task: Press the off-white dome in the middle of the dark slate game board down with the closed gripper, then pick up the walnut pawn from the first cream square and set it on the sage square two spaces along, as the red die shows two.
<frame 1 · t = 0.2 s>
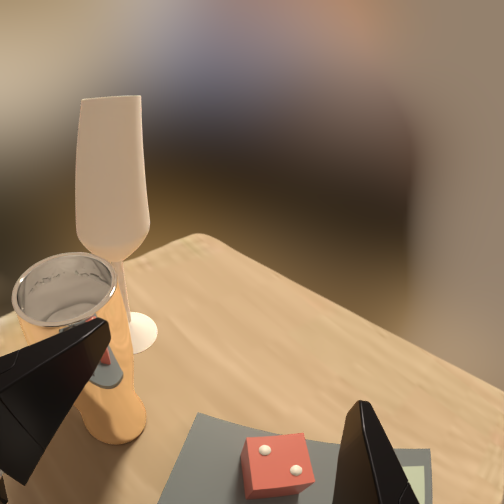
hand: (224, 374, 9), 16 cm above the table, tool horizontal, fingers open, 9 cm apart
champagne flute: (128, 333, 30), on the table
red die: (269, 475, 17), resting on game board
beer glass: (114, 416, 21), on the table
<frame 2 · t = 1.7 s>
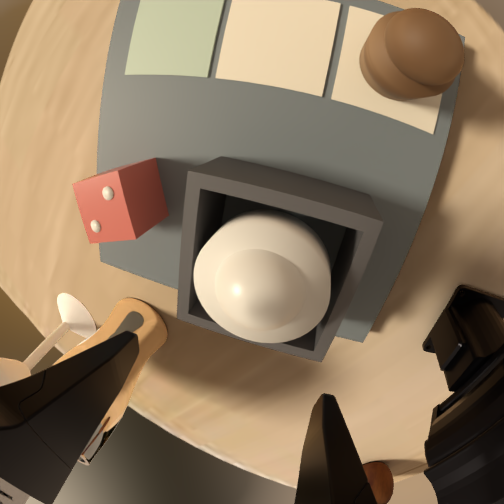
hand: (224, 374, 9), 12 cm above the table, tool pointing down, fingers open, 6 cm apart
game board: (251, 148, 17), on the table
champagne flute: (76, 315, 30), on the table
walnut pawn: (395, 66, 12), point 2 cm above the table, touching game board
red die: (138, 191, 19), resting on game board
wooden figurine: (371, 464, 32), on the table
dome button: (261, 284, 14), point 6 cm above the table, slide at 0.0 cm
beer glass: (142, 321, 27), on the table
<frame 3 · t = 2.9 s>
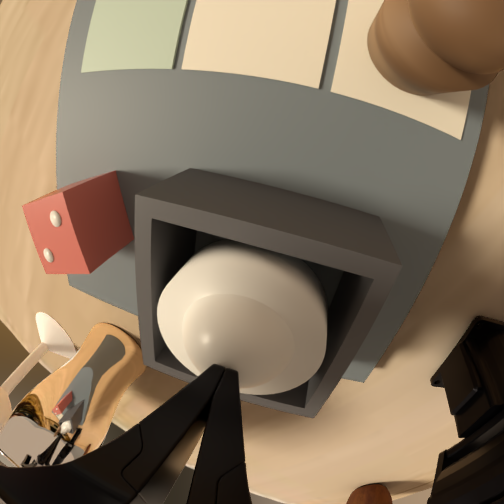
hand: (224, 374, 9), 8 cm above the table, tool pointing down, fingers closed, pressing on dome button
game board: (230, 156, 14), on the table
champagne flute: (55, 335, 27), on the table
walnut pawn: (413, 50, 8), point 2 cm above the table, touching game board
red die: (99, 210, 15), resting on game board
wooden figurine: (369, 486, 28), on the table
dome button: (240, 331, 11), point 6 cm above the table, slide at 0.6 cm, touching gripper
beer glass: (120, 347, 24), on the table
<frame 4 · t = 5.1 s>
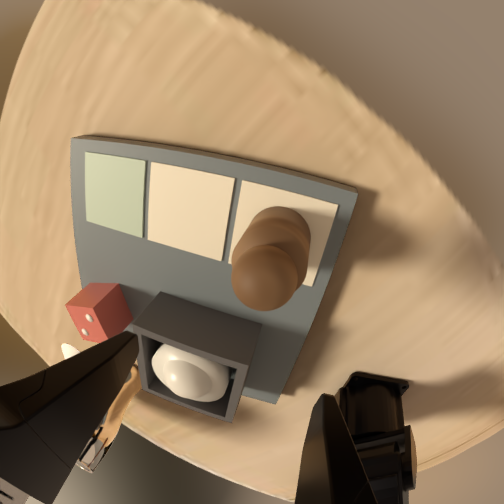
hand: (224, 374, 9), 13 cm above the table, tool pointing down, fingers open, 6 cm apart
game board: (182, 281, 24), on the table
walnut pawn: (279, 236, 19), point 2 cm above the table, touching game board
red die: (111, 300, 26), resting on game board
dome button: (190, 372, 22), point 5 cm above the table, slide at 1.4 cm
beer glass: (126, 370, 34), on the table
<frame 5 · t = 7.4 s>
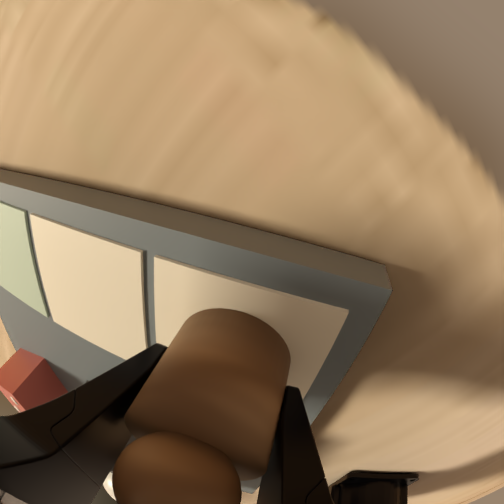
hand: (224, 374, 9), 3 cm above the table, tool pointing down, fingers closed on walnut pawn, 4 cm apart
game board: (115, 367, 15), on the table
walnut pawn: (232, 354, 10), point 2 cm above the table, touching game board, gripper
red die: (44, 371, 17), resting on game board
dome button: (134, 479, 13), point 5 cm above the table, slide at 1.4 cm
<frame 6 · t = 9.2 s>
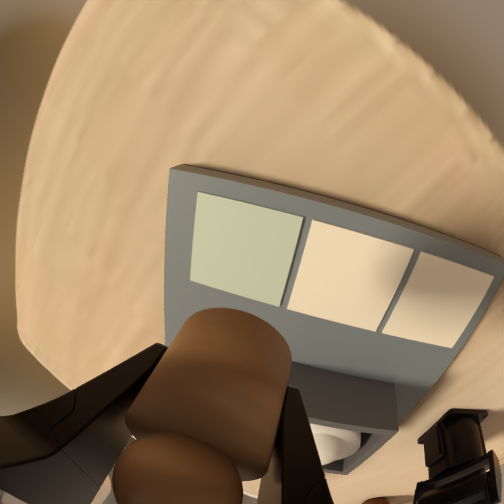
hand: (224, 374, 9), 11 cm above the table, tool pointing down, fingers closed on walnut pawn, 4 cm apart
game board: (309, 345, 21), on the table
walnut pawn: (233, 354, 10), point 10 cm above the table, touching gripper
wooden figurine: (374, 499, 34), on the table
dome button: (319, 439, 19), point 5 cm above the table, slide at 1.4 cm
when the fingers open (4 cm above the table, at t = 11.3 s): walnut pawn drops 1 cm, resting on game board.
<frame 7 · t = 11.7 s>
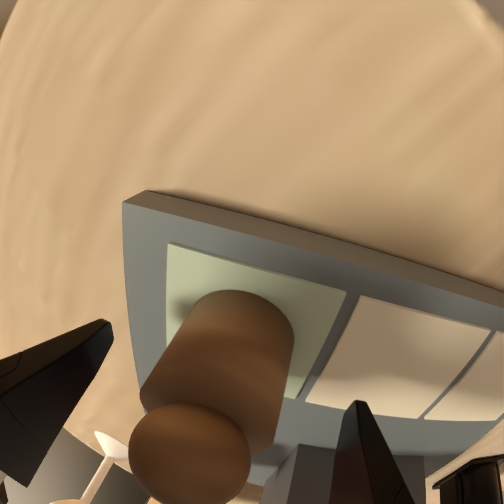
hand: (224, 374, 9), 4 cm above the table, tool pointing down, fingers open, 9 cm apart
game board: (327, 422, 15), on the table
champagne flute: (117, 445, 28), on the table
walnut pawn: (240, 334, 11), point 2 cm above the table, touching game board
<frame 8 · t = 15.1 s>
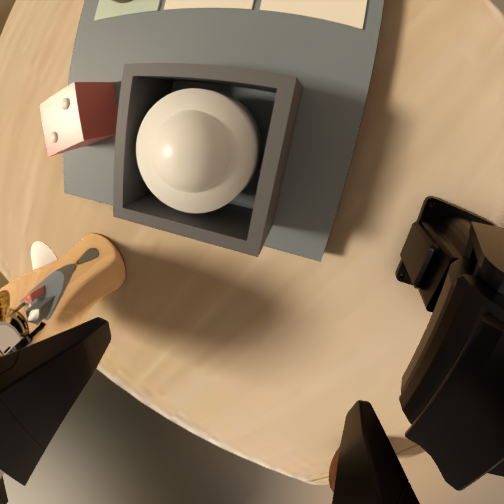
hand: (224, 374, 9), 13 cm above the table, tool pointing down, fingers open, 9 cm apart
game board: (196, 65, 16), on the table
champagne flute: (47, 265, 29), on the table
red die: (97, 115, 18), resting on game board
dome button: (194, 150, 14), point 5 cm above the table, slide at 1.4 cm
beer glass: (103, 260, 26), on the table
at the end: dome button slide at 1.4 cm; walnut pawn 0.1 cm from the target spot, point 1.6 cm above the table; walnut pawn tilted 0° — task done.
